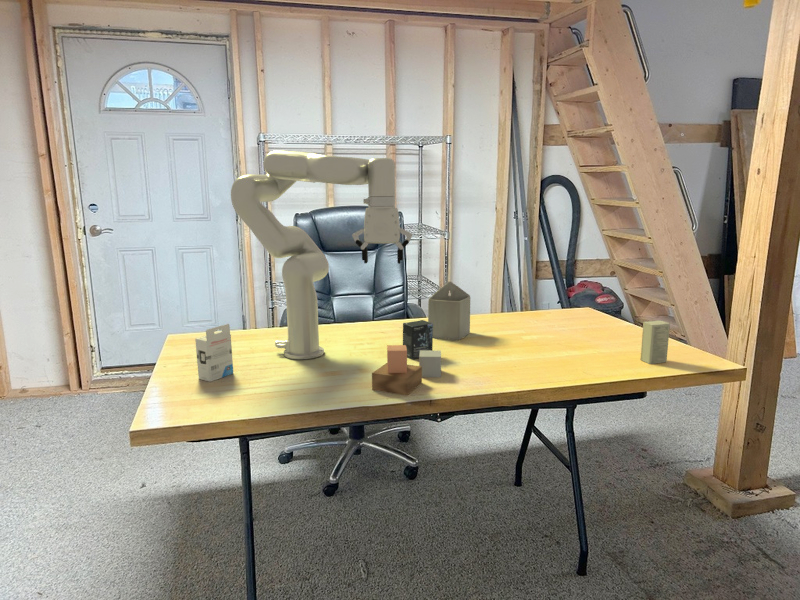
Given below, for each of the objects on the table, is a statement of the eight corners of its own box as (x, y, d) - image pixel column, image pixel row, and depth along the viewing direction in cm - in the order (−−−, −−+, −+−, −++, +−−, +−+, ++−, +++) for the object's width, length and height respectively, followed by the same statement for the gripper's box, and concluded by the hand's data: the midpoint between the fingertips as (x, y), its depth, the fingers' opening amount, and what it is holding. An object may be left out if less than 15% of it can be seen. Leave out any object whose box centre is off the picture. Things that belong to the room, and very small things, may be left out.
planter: (437, 342, 191) (437, 286, 187) (427, 336, 198) (427, 282, 194) (479, 337, 197) (480, 283, 193) (469, 332, 204) (470, 279, 200)
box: (412, 360, 172) (412, 326, 170) (402, 355, 177) (402, 322, 175) (433, 355, 176) (433, 322, 174) (422, 351, 181) (422, 319, 179)
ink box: (222, 370, 163) (218, 321, 160) (234, 373, 161) (230, 323, 158) (197, 379, 156) (193, 327, 153) (209, 382, 153) (205, 329, 150)
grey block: (419, 377, 157) (419, 356, 156) (419, 370, 163) (419, 350, 162) (440, 377, 157) (441, 356, 155) (440, 370, 162) (440, 350, 161)
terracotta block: (387, 373, 146) (387, 350, 145) (387, 366, 151) (387, 345, 150) (406, 372, 146) (406, 350, 145) (405, 366, 151) (405, 345, 150)
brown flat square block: (372, 391, 147) (371, 372, 146) (388, 379, 156) (388, 362, 155) (407, 396, 143) (407, 377, 142) (421, 384, 152) (421, 366, 151)
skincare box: (657, 358, 172) (660, 319, 170) (667, 362, 168) (671, 323, 166) (639, 360, 171) (642, 321, 168) (649, 364, 167) (652, 324, 164)
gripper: (349, 203, 157) (351, 264, 160) (411, 203, 156) (411, 264, 159) (353, 202, 164) (354, 261, 167) (412, 202, 163) (412, 261, 166)
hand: (382, 262), depth 163 cm, fingers open, 9 cm apart
